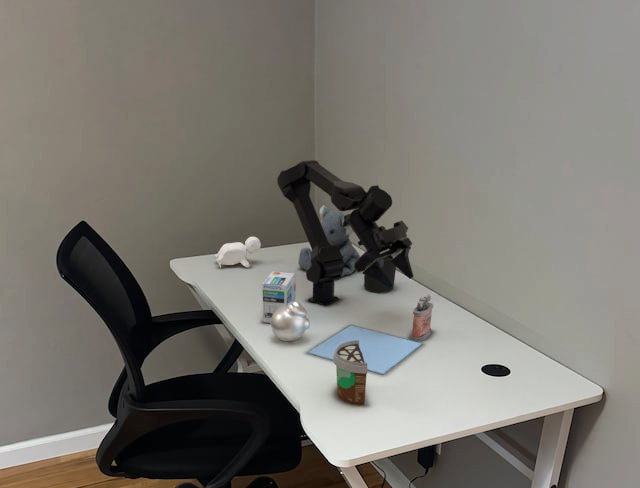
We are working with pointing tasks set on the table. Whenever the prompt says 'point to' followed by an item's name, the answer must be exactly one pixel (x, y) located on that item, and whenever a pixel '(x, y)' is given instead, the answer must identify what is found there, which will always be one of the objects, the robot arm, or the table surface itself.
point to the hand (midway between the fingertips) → (402, 282)
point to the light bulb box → (277, 292)
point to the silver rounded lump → (290, 321)
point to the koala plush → (334, 240)
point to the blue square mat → (369, 348)
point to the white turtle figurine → (237, 252)
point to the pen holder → (376, 285)
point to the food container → (350, 372)
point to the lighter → (422, 319)
